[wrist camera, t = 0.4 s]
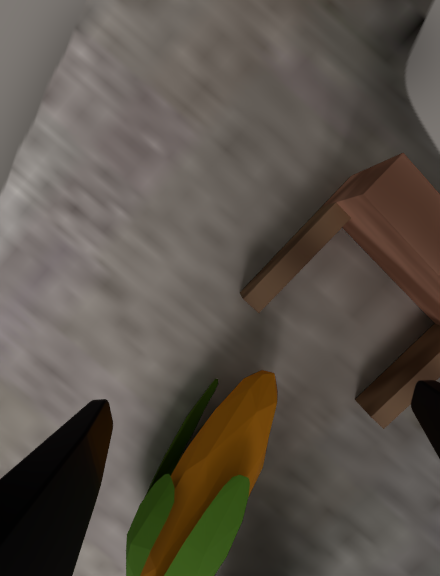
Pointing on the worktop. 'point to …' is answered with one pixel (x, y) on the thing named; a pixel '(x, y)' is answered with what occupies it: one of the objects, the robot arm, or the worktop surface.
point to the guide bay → (387, 254)
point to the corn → (204, 484)
